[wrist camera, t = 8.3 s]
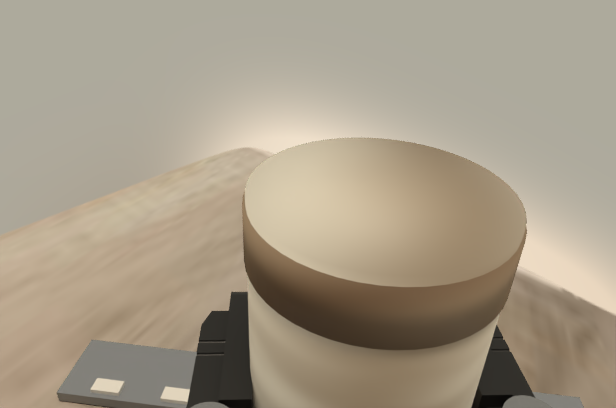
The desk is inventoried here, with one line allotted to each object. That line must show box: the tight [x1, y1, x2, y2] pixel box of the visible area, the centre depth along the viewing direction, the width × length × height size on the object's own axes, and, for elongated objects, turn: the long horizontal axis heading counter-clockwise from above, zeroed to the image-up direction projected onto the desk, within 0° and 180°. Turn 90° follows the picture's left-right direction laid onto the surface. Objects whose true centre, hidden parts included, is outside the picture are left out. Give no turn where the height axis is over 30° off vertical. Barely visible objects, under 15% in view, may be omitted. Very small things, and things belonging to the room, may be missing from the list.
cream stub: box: [242, 138, 527, 408], centre depth 12 cm, size 5×5×12 cm
